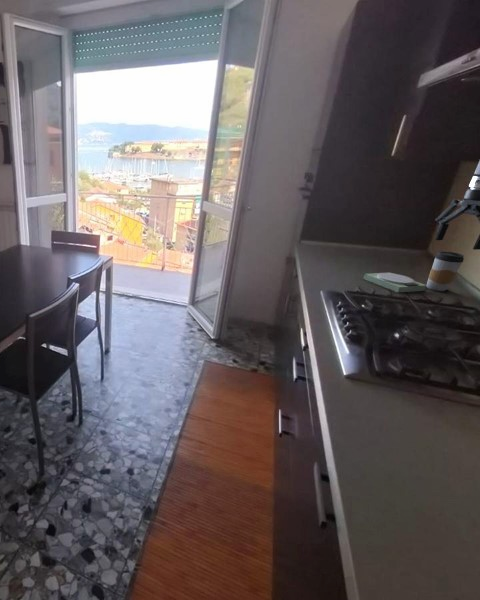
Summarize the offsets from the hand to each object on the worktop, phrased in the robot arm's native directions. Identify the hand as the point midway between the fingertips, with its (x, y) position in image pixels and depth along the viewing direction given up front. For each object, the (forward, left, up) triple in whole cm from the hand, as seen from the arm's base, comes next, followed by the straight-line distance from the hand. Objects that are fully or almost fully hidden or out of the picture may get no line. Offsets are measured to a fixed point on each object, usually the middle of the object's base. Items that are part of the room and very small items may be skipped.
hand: (456, 244), depth 141 cm
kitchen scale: (+7, +14, -19) cm, 25 cm away
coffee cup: (0, 0, -19) cm, 19 cm away
